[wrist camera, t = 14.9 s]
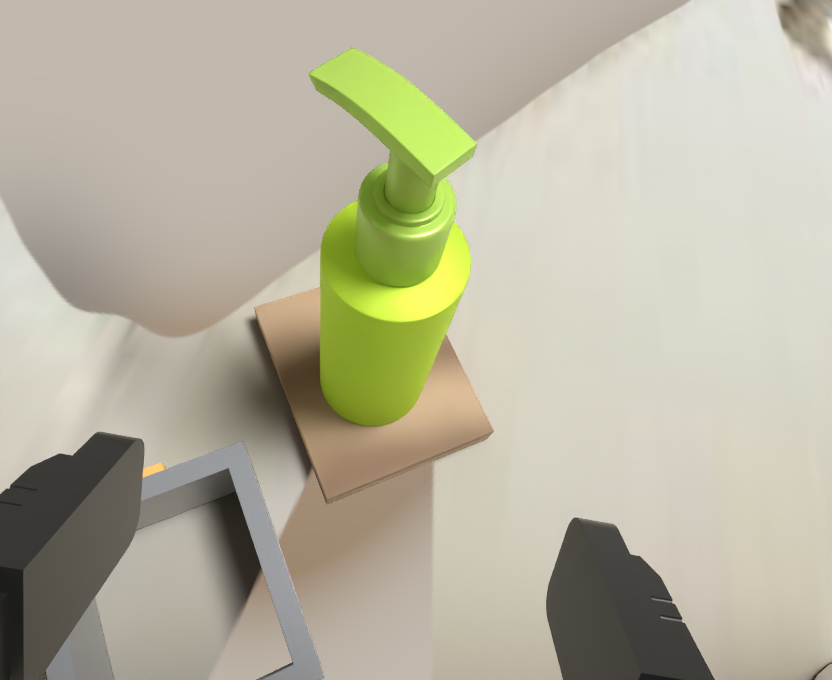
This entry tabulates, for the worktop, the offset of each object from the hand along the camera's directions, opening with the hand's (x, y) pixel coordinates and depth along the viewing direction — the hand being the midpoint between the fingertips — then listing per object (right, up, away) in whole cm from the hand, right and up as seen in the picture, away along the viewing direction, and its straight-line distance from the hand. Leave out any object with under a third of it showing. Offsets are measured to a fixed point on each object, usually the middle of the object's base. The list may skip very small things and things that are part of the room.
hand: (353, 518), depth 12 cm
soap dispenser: (-2, +1, +25) cm, 25 cm away
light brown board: (-2, +1, +26) cm, 26 cm away
